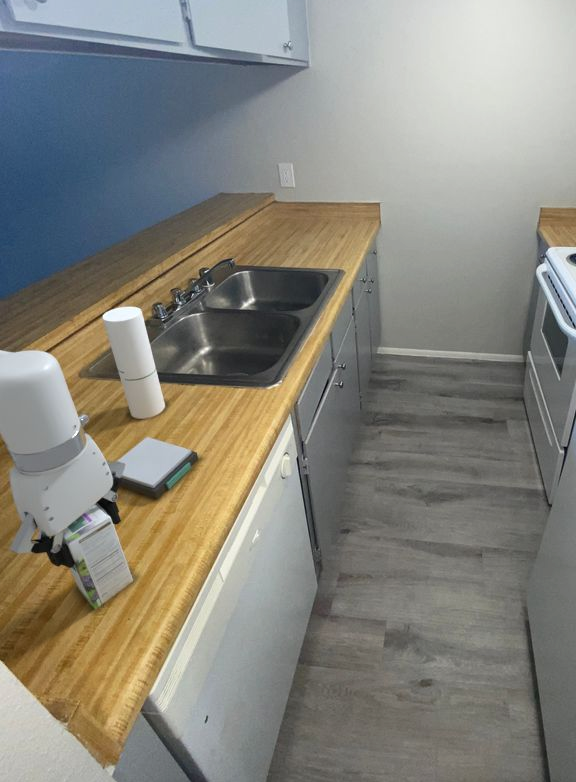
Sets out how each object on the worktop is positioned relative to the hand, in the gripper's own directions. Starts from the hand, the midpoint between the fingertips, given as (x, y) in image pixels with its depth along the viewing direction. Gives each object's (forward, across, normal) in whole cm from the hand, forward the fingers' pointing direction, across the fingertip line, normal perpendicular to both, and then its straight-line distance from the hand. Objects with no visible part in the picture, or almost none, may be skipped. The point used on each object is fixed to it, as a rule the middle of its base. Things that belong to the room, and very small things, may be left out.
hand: (88, 540), depth 67 cm
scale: (+10, -21, -11) cm, 26 cm away
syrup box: (+10, 0, 0) cm, 10 cm away
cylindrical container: (+10, -36, -27) cm, 46 cm away
